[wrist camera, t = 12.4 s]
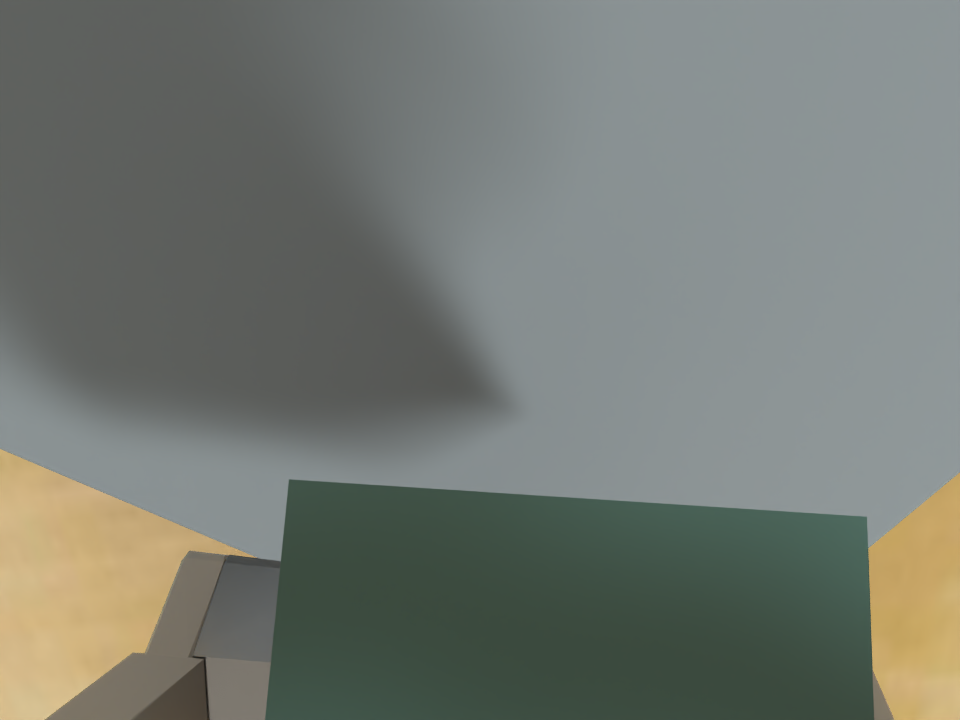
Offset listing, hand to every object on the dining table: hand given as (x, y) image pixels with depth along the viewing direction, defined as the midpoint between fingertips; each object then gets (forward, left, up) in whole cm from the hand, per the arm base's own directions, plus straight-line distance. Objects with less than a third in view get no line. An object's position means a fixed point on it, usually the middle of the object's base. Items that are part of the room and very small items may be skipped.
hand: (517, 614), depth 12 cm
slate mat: (+1, -2, -7) cm, 7 cm away
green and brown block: (-1, +3, -2) cm, 4 cm away
